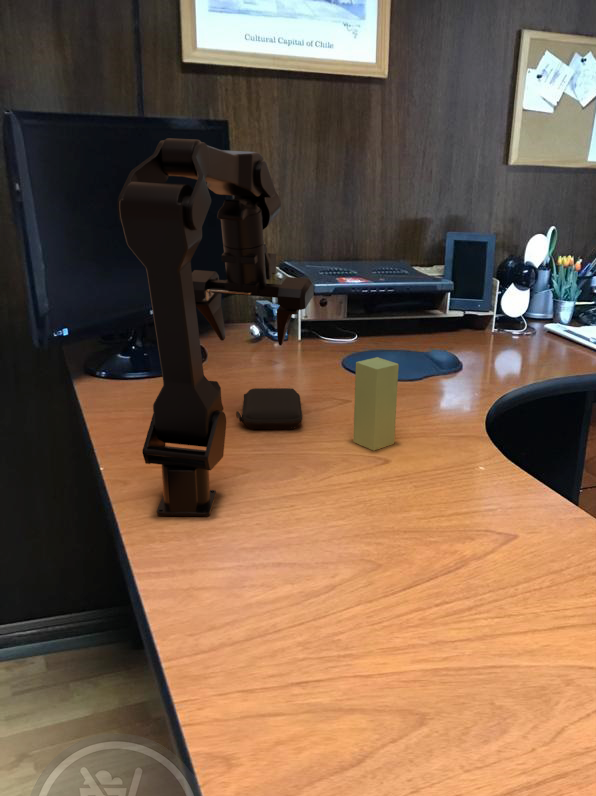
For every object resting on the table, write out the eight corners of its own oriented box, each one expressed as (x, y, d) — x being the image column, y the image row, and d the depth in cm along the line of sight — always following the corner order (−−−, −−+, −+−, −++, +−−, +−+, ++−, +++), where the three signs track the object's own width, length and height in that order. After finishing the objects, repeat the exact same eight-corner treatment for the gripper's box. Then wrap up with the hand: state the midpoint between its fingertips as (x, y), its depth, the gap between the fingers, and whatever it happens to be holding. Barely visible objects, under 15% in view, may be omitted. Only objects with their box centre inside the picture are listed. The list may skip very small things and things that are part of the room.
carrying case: (238, 401, 136) (235, 432, 122) (238, 385, 135) (234, 414, 121) (299, 401, 137) (303, 432, 124) (299, 385, 136) (303, 414, 123)
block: (373, 451, 118) (377, 369, 113) (353, 442, 121) (355, 362, 116) (394, 443, 121) (398, 363, 116) (374, 435, 124) (377, 357, 119)
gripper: (320, 229, 115) (323, 325, 124) (200, 221, 118) (211, 315, 126) (302, 254, 106) (306, 356, 115) (172, 245, 109) (186, 345, 117)
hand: (251, 341), depth 118 cm, fingers open, 9 cm apart
